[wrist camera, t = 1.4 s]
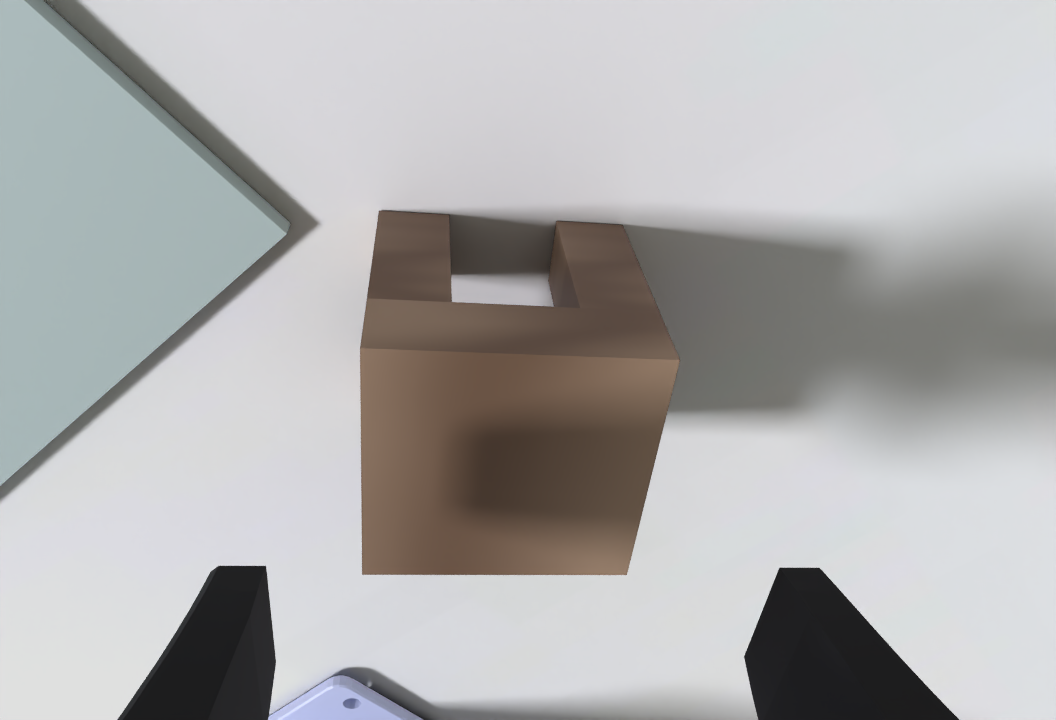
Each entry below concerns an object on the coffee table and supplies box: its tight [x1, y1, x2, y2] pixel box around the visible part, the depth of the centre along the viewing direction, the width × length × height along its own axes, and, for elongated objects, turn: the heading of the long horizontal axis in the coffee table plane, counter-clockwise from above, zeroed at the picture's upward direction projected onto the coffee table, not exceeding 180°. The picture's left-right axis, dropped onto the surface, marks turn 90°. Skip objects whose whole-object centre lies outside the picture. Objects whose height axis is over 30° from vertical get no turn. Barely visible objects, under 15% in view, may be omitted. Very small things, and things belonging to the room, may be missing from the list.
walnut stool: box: [360, 211, 680, 575], centre depth 16 cm, size 5×5×5 cm
